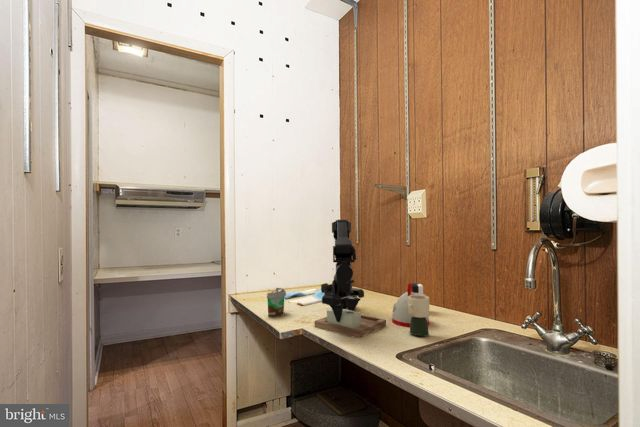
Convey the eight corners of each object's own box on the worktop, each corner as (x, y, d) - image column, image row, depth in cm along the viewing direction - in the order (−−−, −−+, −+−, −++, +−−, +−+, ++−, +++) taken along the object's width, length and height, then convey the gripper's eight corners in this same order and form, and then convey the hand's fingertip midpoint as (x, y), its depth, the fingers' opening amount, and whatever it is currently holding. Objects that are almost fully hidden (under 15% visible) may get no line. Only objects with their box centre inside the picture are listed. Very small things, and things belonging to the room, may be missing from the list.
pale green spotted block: (336, 320, 131) (336, 307, 131) (361, 326, 123) (360, 311, 124) (327, 324, 126) (327, 310, 126) (351, 330, 119) (351, 315, 119)
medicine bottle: (406, 313, 146) (406, 284, 146) (408, 309, 152) (408, 282, 153) (424, 314, 143) (423, 285, 143) (425, 310, 150) (425, 283, 150)
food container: (281, 318, 139) (281, 293, 140) (266, 317, 140) (266, 293, 141) (289, 310, 151) (289, 288, 152) (276, 310, 153) (276, 287, 153)
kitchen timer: (389, 325, 128) (388, 285, 129) (395, 316, 141) (394, 279, 142) (427, 329, 123) (427, 287, 124) (430, 319, 136) (429, 281, 137)
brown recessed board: (343, 316, 141) (343, 311, 141) (386, 325, 128) (386, 319, 128) (314, 326, 127) (314, 320, 127) (359, 338, 114) (359, 331, 114)
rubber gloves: (269, 298, 179) (269, 286, 179) (315, 289, 201) (315, 278, 201) (302, 307, 159) (302, 293, 159) (349, 296, 181) (349, 284, 181)
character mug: (420, 329, 123) (419, 293, 124) (437, 334, 118) (436, 296, 118) (400, 335, 117) (400, 297, 117) (417, 341, 111) (417, 300, 112)
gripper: (341, 272, 137) (341, 311, 137) (310, 278, 123) (310, 321, 123) (364, 274, 130) (365, 315, 130) (334, 281, 116) (334, 327, 116)
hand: (343, 319), depth 125 cm, fingers open, 7 cm apart
